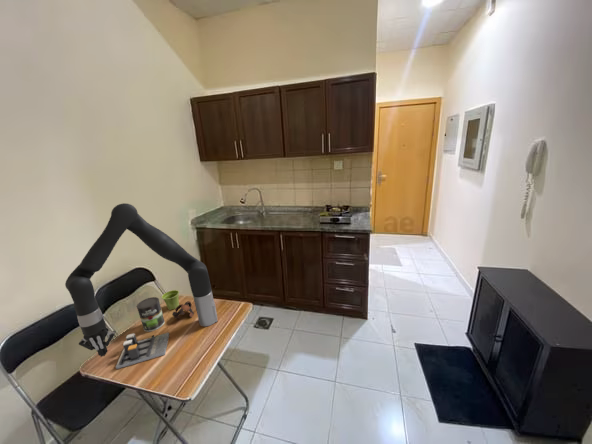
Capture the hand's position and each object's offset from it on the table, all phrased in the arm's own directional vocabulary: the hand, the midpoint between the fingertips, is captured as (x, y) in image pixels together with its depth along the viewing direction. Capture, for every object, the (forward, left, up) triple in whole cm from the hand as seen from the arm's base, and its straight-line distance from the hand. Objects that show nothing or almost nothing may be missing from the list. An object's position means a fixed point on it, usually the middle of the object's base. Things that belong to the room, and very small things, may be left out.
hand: (103, 354), depth 105 cm
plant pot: (-22, -38, -7) cm, 44 cm away
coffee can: (-14, -24, -7) cm, 28 cm away
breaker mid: (-8, -4, -5) cm, 10 cm away
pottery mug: (-29, -25, -7) cm, 39 cm away
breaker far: (-8, -9, -5) cm, 13 cm away
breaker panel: (-13, -4, -7) cm, 16 cm away
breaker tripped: (-11, 0, -5) cm, 12 cm away
